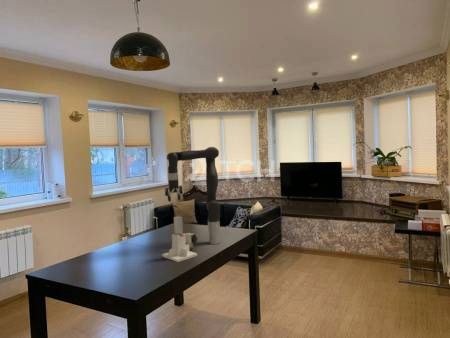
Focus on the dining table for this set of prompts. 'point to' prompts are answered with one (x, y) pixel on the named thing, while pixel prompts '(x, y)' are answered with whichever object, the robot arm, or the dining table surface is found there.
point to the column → (178, 225)
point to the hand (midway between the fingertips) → (174, 200)
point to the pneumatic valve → (190, 239)
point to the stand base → (179, 249)
